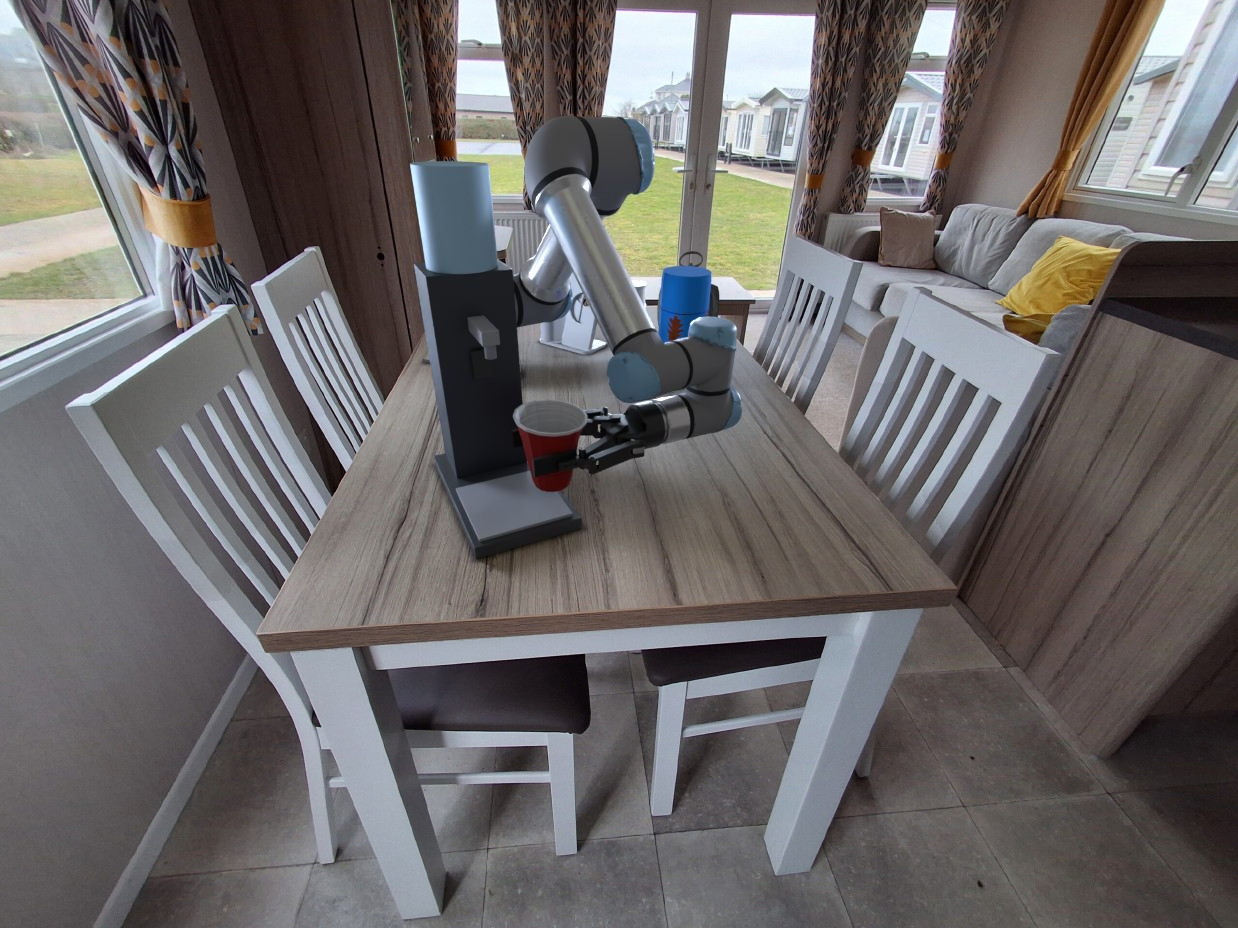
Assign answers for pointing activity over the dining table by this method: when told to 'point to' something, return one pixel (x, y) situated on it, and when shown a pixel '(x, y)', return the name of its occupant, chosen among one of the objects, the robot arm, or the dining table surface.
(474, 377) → the water dispenser
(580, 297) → the phone holder
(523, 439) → the plastic cup
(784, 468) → the dining table surface
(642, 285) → the silver ribbed cylinder
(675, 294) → the thermos
